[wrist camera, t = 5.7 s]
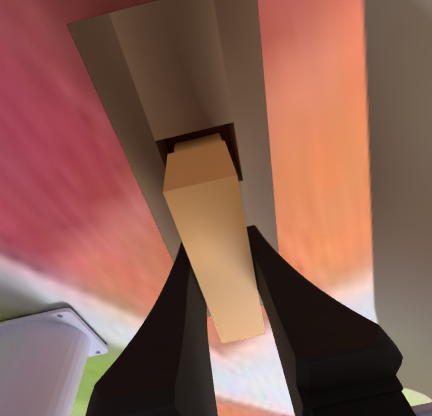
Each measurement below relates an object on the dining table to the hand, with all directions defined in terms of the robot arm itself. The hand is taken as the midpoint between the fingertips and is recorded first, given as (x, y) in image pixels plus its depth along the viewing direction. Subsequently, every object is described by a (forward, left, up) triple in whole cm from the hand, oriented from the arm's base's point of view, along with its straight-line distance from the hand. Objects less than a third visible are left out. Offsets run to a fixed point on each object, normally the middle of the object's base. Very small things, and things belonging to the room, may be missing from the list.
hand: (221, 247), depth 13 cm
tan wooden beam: (0, 0, -4) cm, 4 cm away
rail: (0, 0, -5) cm, 5 cm away
